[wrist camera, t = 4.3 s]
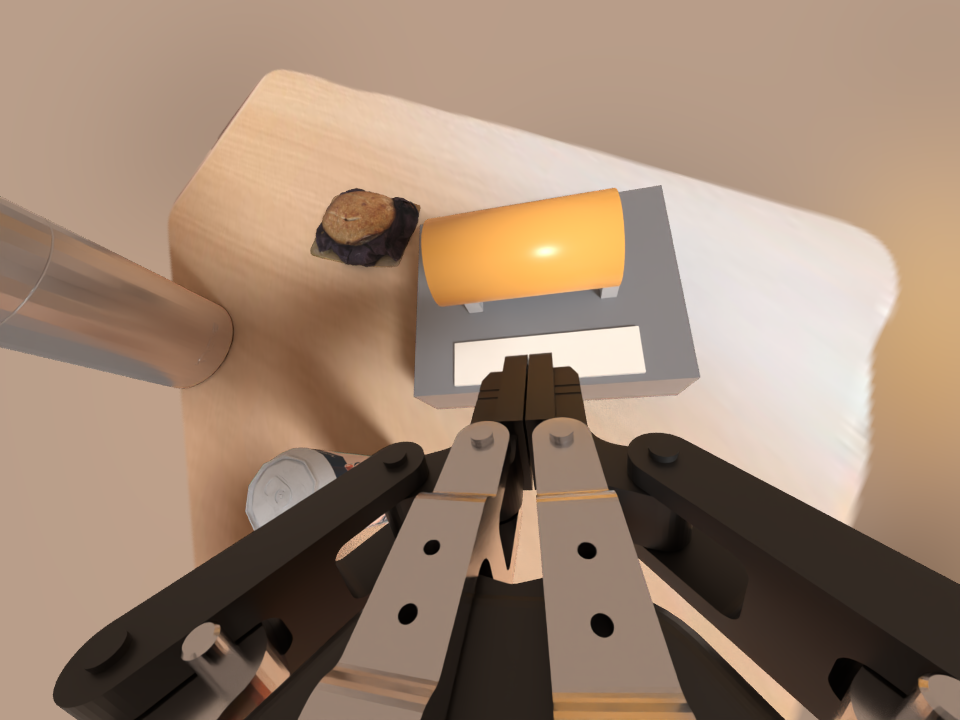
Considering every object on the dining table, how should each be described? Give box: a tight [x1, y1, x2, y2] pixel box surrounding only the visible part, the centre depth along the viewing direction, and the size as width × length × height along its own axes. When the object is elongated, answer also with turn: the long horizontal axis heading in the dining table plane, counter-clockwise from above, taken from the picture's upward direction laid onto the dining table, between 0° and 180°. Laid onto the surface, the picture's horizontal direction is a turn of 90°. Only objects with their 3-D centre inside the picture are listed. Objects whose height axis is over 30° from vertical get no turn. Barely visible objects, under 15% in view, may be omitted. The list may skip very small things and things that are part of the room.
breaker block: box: [414, 185, 700, 409], centre depth 27 cm, size 14×18×8 cm
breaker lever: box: [421, 188, 625, 307], centre depth 18 cm, size 3×7×15 cm, turn 92°
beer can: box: [245, 448, 388, 531], centre depth 24 cm, size 5×5×12 cm
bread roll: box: [311, 188, 420, 267], centre depth 37 cm, size 11×8×4 cm
